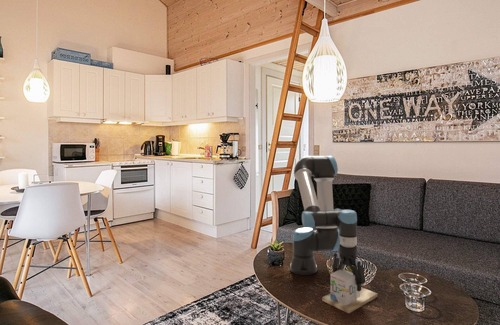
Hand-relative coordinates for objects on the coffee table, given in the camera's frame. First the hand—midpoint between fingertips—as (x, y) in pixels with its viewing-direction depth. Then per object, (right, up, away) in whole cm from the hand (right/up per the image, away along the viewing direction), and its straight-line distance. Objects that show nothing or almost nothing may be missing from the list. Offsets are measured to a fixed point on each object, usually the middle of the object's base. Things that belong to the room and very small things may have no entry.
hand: (348, 293), depth 141 cm
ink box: (-3, -2, -2) cm, 4 cm away
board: (+1, -3, +1) cm, 3 cm away
